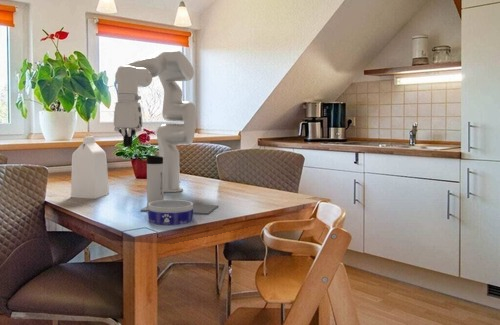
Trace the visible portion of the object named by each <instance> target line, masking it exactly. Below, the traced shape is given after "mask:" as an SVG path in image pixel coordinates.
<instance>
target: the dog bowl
mask: <svg viewBox="0 0 500 325" xmlns="http://www.w3.org/2000/svg"><path fill="white" fill-rule="evenodd" d="M193 204H194V202H192V201H189V200H186V199H185V200H184V199H183V200H181V199H164V200H159V201H153V202H150V203H149V204H148V211H147V213H148V214H147V215H148V217H147V218H148V222H149V223H150V224H152V225H159V226H178V225H179V226H180V225H186V224H189V223H191V222H193V220H194V214H193Z"/></svg>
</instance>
